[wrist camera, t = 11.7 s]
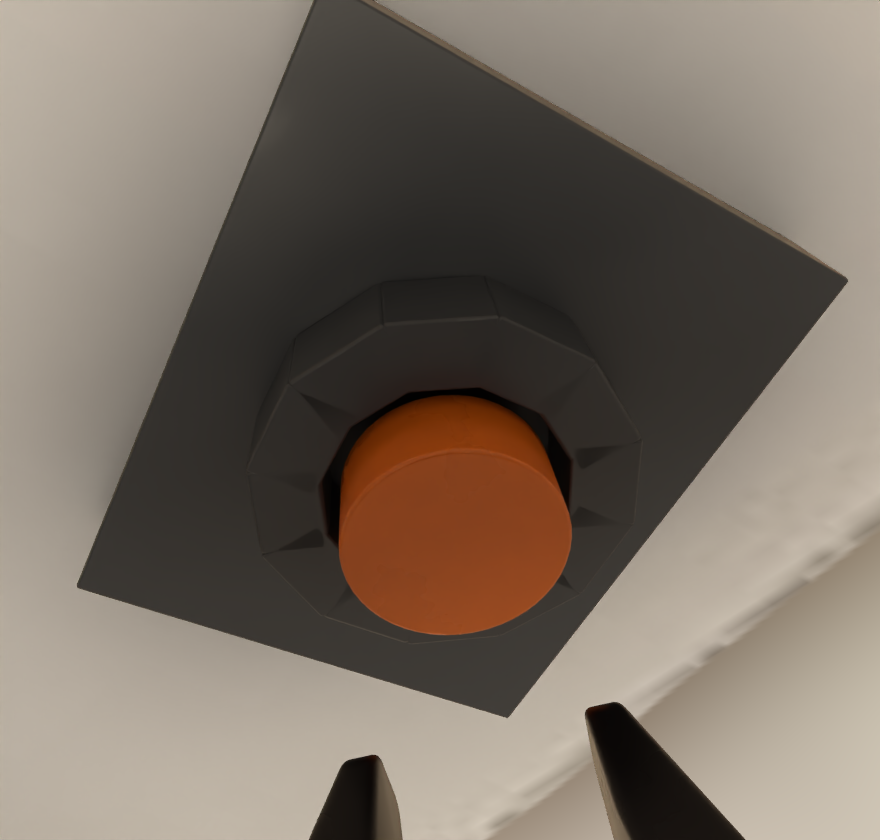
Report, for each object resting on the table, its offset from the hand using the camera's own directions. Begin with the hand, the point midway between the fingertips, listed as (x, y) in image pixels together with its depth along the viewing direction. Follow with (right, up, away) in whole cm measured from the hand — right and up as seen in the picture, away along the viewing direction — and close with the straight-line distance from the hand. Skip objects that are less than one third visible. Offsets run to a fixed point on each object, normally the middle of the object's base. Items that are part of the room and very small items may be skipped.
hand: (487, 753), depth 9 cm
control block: (-1, +4, +8) cm, 9 cm away
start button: (0, +3, +5) cm, 5 cm away
